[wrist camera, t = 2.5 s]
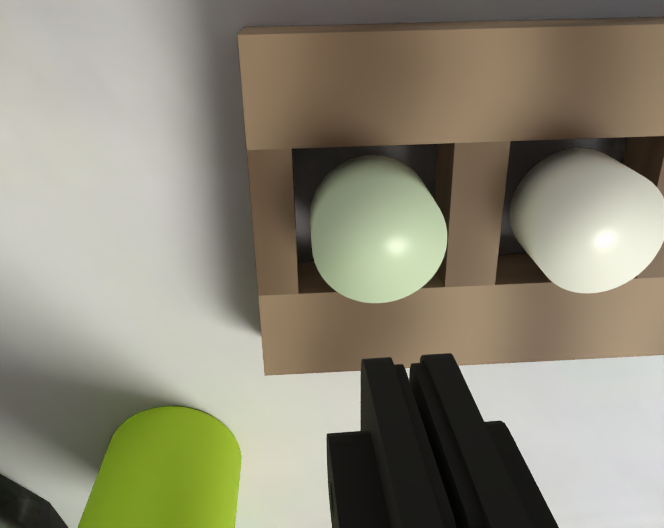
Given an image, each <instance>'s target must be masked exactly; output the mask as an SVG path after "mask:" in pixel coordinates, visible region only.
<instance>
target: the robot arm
mask: <svg viewBox="0 0 664 528" xmlns="http://www.w3.org/2000/svg"><path fill="white" fill-rule="evenodd" d="M327 470H328V487H329V501H330V511H331V521H332V528H559V527H558V525H557V523H556V521H555V519H554V517H553V515H552V513H551V512H550V510H549V508H548V506H547V504H546V502H545V500H544V498H543V496H542V494H541V492H540V490H539V488H538V486H537V484H536V482H535V480H534V478H533V476H532V474H531V472H530V470H529V468H528V466H527V465H526V463H525V461H524V459H523V457H522V455H521V453H520V451H519V449H518V447H517V445H516V443H515V441H514V439H513V437H512V435H511V433H510V431H509V429H508V428H507V426H506V425H505V423H503V422H502V421H490V422H484V420H483V418H482V416H481V414H480V412H479V410H478V408H477V405H476V403H475V401H474V399H473V397H472V395H471V392H470V390H469V388H468V386H467V384H466V382H465V380H464V377H463V375H462V373H461V371H460V369H459V367H458V365H457V362H456V360H455V358H454V356H453V355H452V354H451V353H443V354H428V355H422V356H421V358H420V363H412V364H411V366H410V377H409V379H408V376H407V373H406V370H405V367H404V365H403V364H395V365H394V363H393V360H392V358H391V357H383V358H368V359H362V360H361V431H356V432H343V433H330V434H327Z"/></svg>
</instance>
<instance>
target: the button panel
mask: <svg viewBox="0 0 664 528" xmlns="http://www.w3.org/2000/svg"><path fill="white" fill-rule="evenodd" d="M238 47H239V59H240V72H241V84H242V97H243V109H244V122H245V134H246V147H247V159H248V172H249V185H250V197H251V210H252V222H253V235H254V247H255V260H256V272H257V285H258V297H259V310H260V322H261V335H262V348H263V360H264V373H265V375H285V374H304V373H323V372H343V371H361V360H362V359H368V358H383V357H391V358H392V360H393V363H394V365H395V364H403V365H404V367H405V368H410V366H411V364H412V363H420V358H421V356H422V355H428V354H443V353H451V354H452V355H453V356H454V358H455V360H456V362H457V365H458V366H459V365H478V364H497V363H517V362H536V361H555V360H575V359H594V358H613V357H633V356H652V355H664V241H663V243H662V246H661V248H660V250H659V251H658V253H657V255H656V256H655V258H654V259H653V260H652V262H651V263H650V264H649V265H648V266H647V267H646V268H645V269H644V270H643V271H642V272H641V273H640V274H639V275H637V276H636V277H634V278H633V279H632V280H630V281H628V282H627V283H625V284H623V285H621V286H619V287H616V288H614V289H611V290H608V291H604V292H599V293H576V292H572V291H568V290H566V289H563V288H561V287H559V286H558V285H556V284H554V283H553V282H552V281H551V280H550V279H549V278H548V277H547V276H546V275H545V274H544V273H543V271H542V270H541V269H540V268H539V267H538V265H537V264H536V263H535V262H534V261H533V259H532V258H531V257H530V256H529V254H528V253H521V254H498V251H499V242H500V233H501V224H502V215H503V206H504V196H505V187H506V178H507V169H508V160H509V151H510V142H511V141H529V140H558V139H587V138H616V137H627V138H626V143H625V149H624V154H623V159H622V164H624V165H625V166H627V167H629V168H630V169H632V170H634V171H635V172H637V173H639V174H640V175H642V176H644V177H645V178H647V179H648V180H650V181H651V182H652V183H653V184H654V185H655V186H656V187H657V188H658V189H659V191H660V192H661V194H662V195H663V198H664V17H637V18H596V19H556V20H516V21H475V22H435V23H395V24H354V25H314V26H274V27H243V28H242V30H241V31H240V32H239V34H238ZM412 144H437V151H436V168H435V186H434V200H435V202H436V204H437V205H438V207H439V209H440V210H441V212H442V215H443V217H444V220H445V223H446V228H447V246H446V251H445V255H444V258H443V260H442V263H441V265H440V266H439V268H438V270H437V272H436V273H435V274H434V275H433V277H432V278H431V279H430V280H429V281H428V282H427V283H426V284H425V285H424V286H423V287H421V288H420V289H419V290H417V291H416V292H414V293H412V294H411V295H409V296H406V297H404V298H402V299H399V300H396V301H391V302H386V303H365V302H360V301H356V300H353V299H350V298H347V297H345V296H343V295H342V294H340V293H338V292H337V291H335V290H334V289H333V288H332V287H331V286H330V285H328V284H327V283H326V281H325V280H324V279H323V278H322V276H321V274H320V273H319V271H318V269H317V267H316V264H315V262H312V263H298V262H297V241H296V220H295V198H294V177H293V156H292V149H295V148H325V147H354V146H383V145H412Z"/></svg>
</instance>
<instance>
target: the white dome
mask: <svg viewBox="0 0 664 528" xmlns="http://www.w3.org/2000/svg"><path fill="white" fill-rule="evenodd" d="M510 223H511V227H512V231H513V233H514V236H515V238H516V239H517V241H518V242H519V244H520V245H521V246H522V247H523V248H524V250H525V251H526V252H527V253H528V254H529V256H530V257H531V258H532V259H533V261H534V262H535V263H536V264H537V265H538V267H539V268H540V269H541V270H542V271H543V273H544V274H545V275H546V276H547V277H548V278H549V279H550V280H551V281H552V282H553V283H554V284H556V285H558V286H559V287H561V288H563V289H566V290H568V291H572V292H576V293H599V292H604V291H608V290H611V289H614V288H616V287H619V286H621V285H623V284H625V283H627V282H628V281H630V280H632V279H633V278H634V277H636V276H637V275H639V274H640V273H641V272H642V271H643V270H644V269H645V268H646V267H647V266H648V265H649V264H650V263H651V262H652V260H653V259H654V258H655V256H656V255H657V253H658V251H659V250H660V248H661V246H662V243H663V241H664V198H663V195H662V194H661V192H660V191H659V189H658V188H657V187H656V186H655V185H654V184H653V183H652V182H651V181H650V180H648V179H647V178H645V177H644V176H642V175H640V174H639V173H637V172H635V171H634V170H632V169H630V168H629V167H627V166H625V165H624V164H622V163H620V162H618V161H617V160H615V159H613V158H612V157H610V156H608V155H607V154H605V153H603V152H600V151H597V150H594V149H589V148H572V149H567V150H562V151H560V152H557V153H554V154H552V155H550V156H548V157H546V158H545V159H543V160H541V161H540V162H539V163H537V164H536V165H535V166H534V167H532V168H531V169H530V171H529V172H528V173H527V174H526V175H525V176H524V177H523V179H522V180H521V182H520V183H519V185H518V187H517V189H516V191H515V193H514V195H513V199H512V202H511V207H510Z"/></svg>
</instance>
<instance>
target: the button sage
mask: <svg viewBox="0 0 664 528" xmlns="http://www.w3.org/2000/svg"><path fill="white" fill-rule="evenodd" d="M310 229H311V242H312V252H313V258H314V262H315V264H316V267H317V269H318V271H319V273H320V274H321V276H322V278H323V279H324V280H325V281H326V283H327V284H328V285H330V286H331V287H332V288H333V289H334V290H335V291H337V292H338V293H340V294H342V295H343V296H345V297H347V298H350V299H353V300H356V301H360V302H365V303H386V302H391V301H396V300H399V299H402V298H404V297H406V296H409V295H411V294H412V293H414V292H416V291H417V290H419V289H420V288H421V287H423V286H424V285H425V284H426V283H427V282H428V281H429V280H430V279H431V278H432V277H433V275H434V274H435V273H436V272H437V270H438V268H439V266H440V265H441V263H442V260H443V258H444V255H445V251H446V246H447V228H446V223H445V220H444V217H443V215H442V212H441V210H440V209H439V207H438V205H437V204H436V202H435V200H434V199H433V197H432V196H431V194H430V192H429V191H428V189H427V188H426V186H425V184H424V183H423V181H422V180H421V178H420V177H419V176H418V175H417V173H416V172H415V171H414V170H412V169H411V168H410V167H409V166H407V165H406V164H404V163H403V162H400V161H398V160H396V159H393V158H390V157H386V156H380V155H367V156H360V157H356V158H353V159H350V160H347V161H345V162H343V163H341V164H339V165H338V166H337V167H335V168H334V169H332V170H331V171H330V172H329V173H328V174H327V175H326V176H325V177H324V178H323V179H322V180H321V182H320V183H319V185H318V187H317V188H316V190H315V192H314V195H313V198H312V201H311V205H310Z"/></svg>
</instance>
